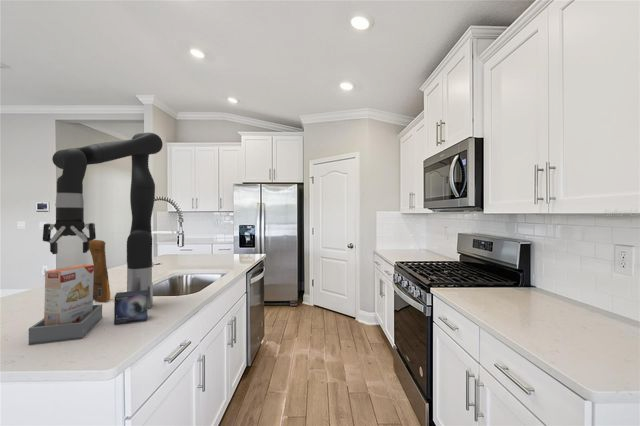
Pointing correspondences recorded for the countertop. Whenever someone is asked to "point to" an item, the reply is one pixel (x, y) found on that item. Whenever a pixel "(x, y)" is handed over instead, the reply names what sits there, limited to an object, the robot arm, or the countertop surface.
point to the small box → (130, 307)
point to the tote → (64, 329)
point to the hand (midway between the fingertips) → (70, 253)
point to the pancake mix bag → (99, 271)
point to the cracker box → (68, 294)
